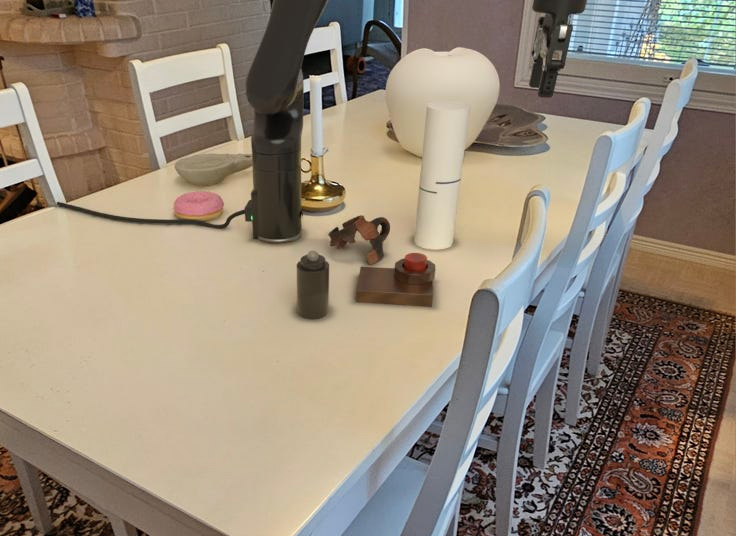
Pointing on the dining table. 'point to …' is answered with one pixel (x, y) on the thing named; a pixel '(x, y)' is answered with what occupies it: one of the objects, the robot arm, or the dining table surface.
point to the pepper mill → (312, 286)
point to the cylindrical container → (441, 173)
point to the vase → (439, 91)
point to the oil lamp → (211, 167)
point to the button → (415, 262)
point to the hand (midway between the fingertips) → (539, 92)
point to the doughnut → (198, 206)
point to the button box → (396, 285)
